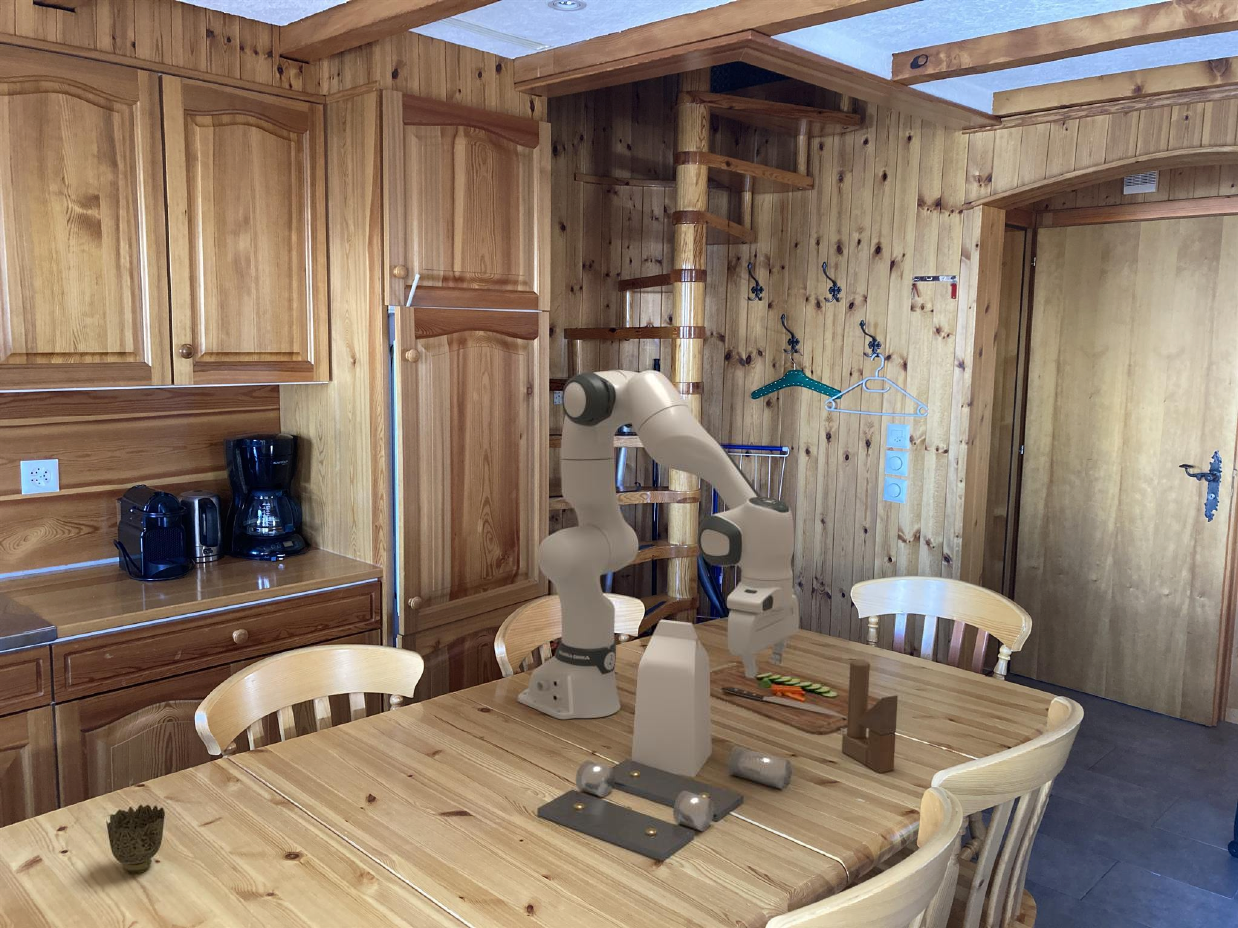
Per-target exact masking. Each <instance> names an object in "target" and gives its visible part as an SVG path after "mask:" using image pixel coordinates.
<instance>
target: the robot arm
mask: <svg viewBox="0 0 1238 928" xmlns="http://www.w3.org/2000/svg"><path fill="white" fill-rule="evenodd" d="M561 400H562V401H561V403H562V404H561V405H562V408H563V412H564V414H565V416H564V421H563V425H562V433H561V444H560V445H561V446H560V466H561V467H560V469H561V470H560V471H561V472H560V473H561V495H562V497H563V499H564V500H565V501H566V502H568V504H570V505H571V506H572V507H573V509H574V511H575V514H576V517H577V521H578V525H577V526H576V525H575V526H573V527H572V526H571V527H567V528H562V529H559V530H557V531H555V532H553V533H552V534H550V535H548V536H546V537H544V539H543V540H542V541H541V542H540V544H539V546H538V549H537V563H538V565H539V568H540V570H541V572H542V574H543V575H544V576H545V577H546V578H547V579H548V580H549V581H551V582H552V584H553V585H554V587H555V589H556V591H557V596H558V598H559V603H560V608H561V609H560V611H561V639H558V640H557V641H556V642H552V643H550V645H551V647H550V649H551V650H552V649H555V653H554V654H553V655H554V656H552V657H551V658H549V659H548V660H547V661H545V662H544V663H542V664H541V665H540V666H538V667H537V668H536V669H534V670H533V671H532V673H531V675H530V678H529V682H528V688H526V689H524V690H523V691H521V692H520V693H519V694H518V695H517V702H519V703H521V704H524V705H526V706H528V707H531V708H533V709H535V710H537V711H539V712H542V713H544V714H547V715H548V716H551V717H553V718H555V719H559V720H569V719H594V718H602V717H607V716H610V715H613V714H615V713H617V712H619V710H621V706H622V705H621V703H620V699H619V696H618V690H617V683H616V682H617V681H616V672H615V668H616V661H617V642H616V640H615V622H616V621H615V616H616V615H615V614H616V613H615V611H616V610H615V605H614V604H613V602H612V600H611V599H609V598H608V597H606V596H605V595H604V592H603V589H602V587H601V586H602V585H601V576H602V575H603V576H604V575H607V574H610V573H615V572H618V571H619V570H622V569H623V568H625V567H626V566H628V565H630V564H631V563H632V562H633V561H634V560H635V559H636V557H637V555H638V553H639V545H640V544H639V539H638V536H637V533H636V532H635V530H634V529H633V527H632V526H630V525H629V524H628V523H627V522H626V520H625V518H624V516H623V513H622V511H621V508H620V505H619V502H618V499H617V492H616V474H615V473H616V469H615V467H616V466H615V443H614V441H615V434H616V432H617V431H618V429H620V428H621V427H622V426H624V428H626V429H631V428H632V427H633V429H634V432H635V433H636V435H637V437H638V439H639V441H640V443H641V444H642V446H643V448H644V450H645V451H646V453H647V454H648V455H649V456H650V457H651V458H652V459H653V461H655V463H657V464H658V465H660V466H662V467H664V468H666V469H671V470H676V471H680V472H683V473H688V474H690V475H693V476H695V477H698V478H699V479H703V480H704V481H706V482H707V483H709V484H710V485H711V486H712V488H714V490H715V492H717V493H718V495H719V496H720V497H721V499H722V501H723V502H724V503H725V505H726V506H727V507H728V510H726V511H720V512H717V513H714V514H711V515H709V516H708V515H707V517H705V518H704V519H703V520H702V521H701V523H700V525H699V527H698V531H697V537H696V538H697V546H698V550H699V552H700V555H701V556H702V558H703V559H704V560H705V561H706V562H707V563H709V564H710V565H712V566H713V567H714V566H715V567H724V568H725V567H730V566H738V567H739V568H740V570H741V573H740V575H741V576H740V581H739V582H738V584H737V586H736V587H735V588H734V589H733V591H731V593H730V594H729V595H728V596H727V599H726V606H727V608H728V609H731V610H730V611H729V614H728V617H727V646H728V647H727V648H728V650H729V652H730V654H731V655H733V656H736V657H741V660H742V663H744V666H745V676H746V677H749V678H754V677H756V676H757V675H758V666H756V664H755V661H756V659H757V653H760V652H761V651H764V650H766V649H768V648H771V647H772V646H773V647H772V652H771V653H770V659H769V660H770V661H769V663H770V664H773V665H776V666H779V665H780V664H782V663H783V662H784V653H785V650H786V647H787V644H788V638H790V637H792V636H794V635H796V634H797V633H798V630H799V627H800V613H799V599H798V597H797V596H796V595H795V589H794V588H793V584H794V583H793V581H794V580H793V579H794V578H793V577H794V575H793V573H794V572H793V570H792V558H793V554H794V552H795V550H794V548H795V547H794V546H795V545H794V544H795V531H794V529H795V528H794V519H793V518H794V517H793V514H792V509H791V508H790V506H789V505H788V504H787V503H785V501H782V500H780V499H778V498H773V497H767V496H761V494H760V493H759V492H758V491H757V489H756V488H755V486H754V485H753V484H752V483H751V481H750V479H749V478H748V477H747V476H746V474H745V473H744V472H743V470H742V469H741V468H740V466H739V464H737V462H736V461H735V459H733V457H732V456H731V455H730V453H729V452H728V451H727V449H725V448H724V447H723V446H722V445H721V443H719V442H718V441H717V440H716V439H714V437H712V436H711V435H710V434H709V432H708V431H706V429H705V428H704V427H703V426H702V424H701V423H700V422H699V421H698V420H697V418H696V416H695V415H694V414H693V412H692V410H691V409H690V407H689V406H688V404H687V402H686V401H685V399H684V398H683V396H682V395H681V393H680V392H679V391H678V390H677V388H676V386H674V384H673V383H672V382H671V381H670V380H669V378H667V376H665V375H664V374H663V373H662V372H660V371H657V370H652V369H649V370H644V371H641V370H634V371H632V370H624V369H623V370H622V369H610V370H605V371H604V370H603V371H595V372H592V371H586V372H581V373H579V374H576V375H573V376H571V377H570V378H569V379H568V380H567V381H566V382H565V385H564V386H563V389H562V395H561Z"/></svg>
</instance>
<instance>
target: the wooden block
mask: <svg viewBox="0 0 1238 928" xmlns="http://www.w3.org/2000/svg"><path fill="white" fill-rule="evenodd" d="M870 667H871V664H870V662H869V661H867V660H865V659H851V660H850V663H849V677H848V678H849V679H848V680H849V682H848V689H849V699H848V720H847V728H846V730H847V733H846V734H842V739H841V740H842V742H841V751H842V753H844V754H846V755H847V756H848V757H851V758H853V759H854V760H856V761H857V762H859V763H861V764H862V765H865V766H867V767H868V768H869V769H871V770H873V771H875V772H877V773H878V774H882V773H885V772H890V771H894V767H895V751H896V749H895V747H896V732H897V717H898V716H897V715H898V714H897V713H898V699H899V697H898V694H895V695H890V696H883V697H881V698H879V699H880V700H879V701H878V702H877V703H876V704H875V705H874V706H873V707H871V708H870V709H869V710H868V695H869V690H870V670H871V669H870ZM867 729H868V732H867ZM867 733H868V734H867ZM867 735H868V736H867Z"/></svg>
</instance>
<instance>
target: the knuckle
mask: <svg viewBox="0 0 1238 928" xmlns="http://www.w3.org/2000/svg"><path fill="white" fill-rule="evenodd" d="M727 769H728V770H727V771H728V773H729V774H730V775H733V776H736V777H739V778H743V779H746V780H749V781H752V782H756V783H759V784H763V785H766V786H770V787H773V788H776V789H780V790H785V789H786V788H787V787H788V785H789V783H790V781H791V779H792V771H793V766H792V762H791V760H789V759H786V758H783V757H778V756H775V755H771V754H767V753H765V752H760V751H756V750H754V749H753V750H752V749H750V748H745V747H742V746H739V745H737V746H734V747H733V748H732V750H731V752H730V754H729V756H728V761H727Z"/></svg>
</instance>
